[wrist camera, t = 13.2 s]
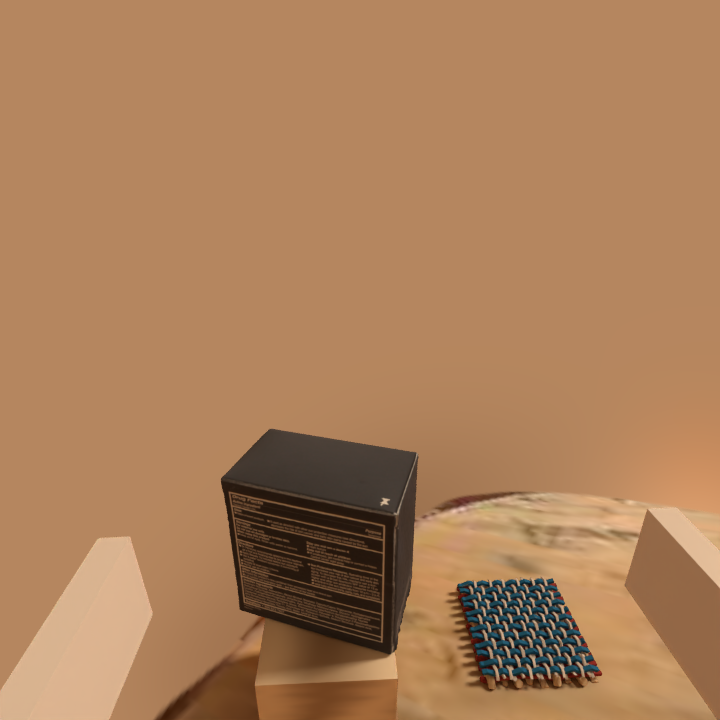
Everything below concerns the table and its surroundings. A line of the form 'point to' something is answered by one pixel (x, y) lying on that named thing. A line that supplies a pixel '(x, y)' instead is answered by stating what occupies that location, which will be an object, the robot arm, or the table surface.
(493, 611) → the woven mat
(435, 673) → the table surface
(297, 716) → the tower top
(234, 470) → the small box
